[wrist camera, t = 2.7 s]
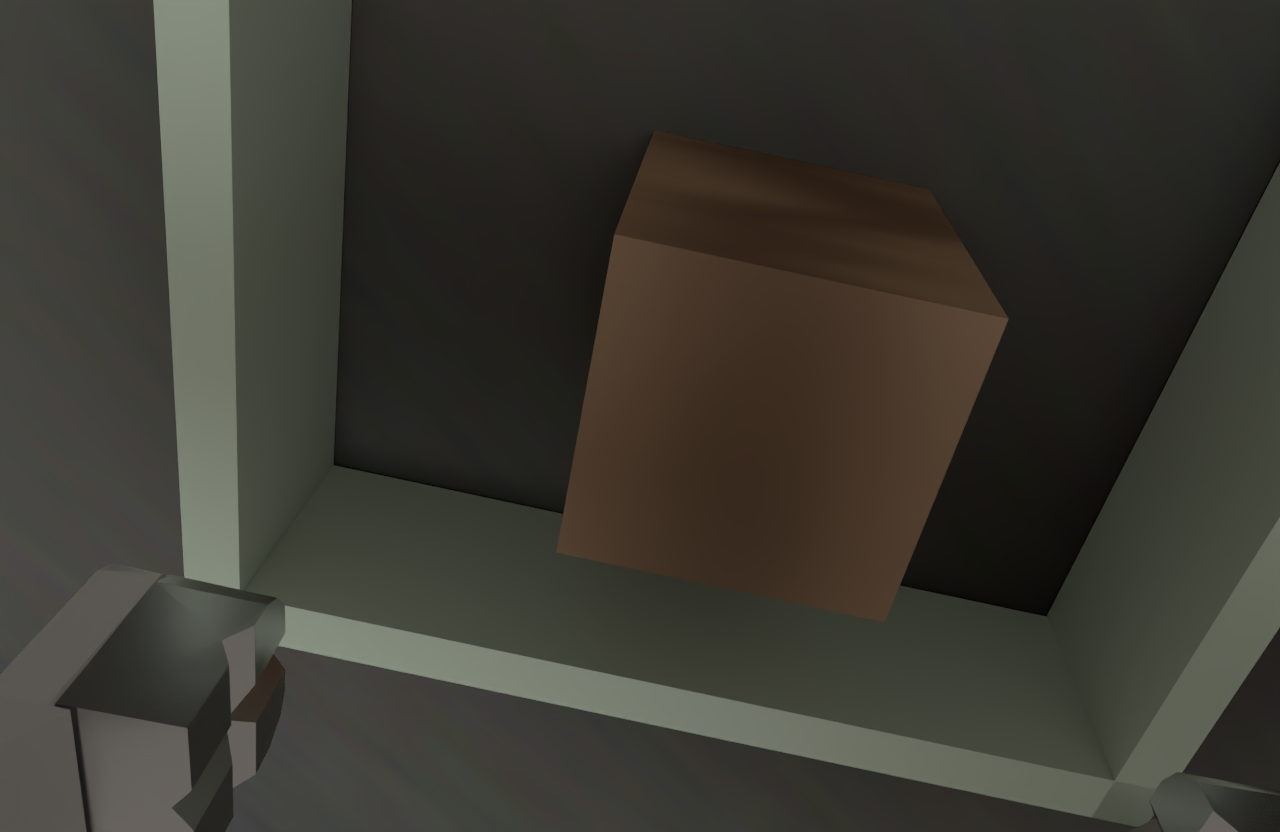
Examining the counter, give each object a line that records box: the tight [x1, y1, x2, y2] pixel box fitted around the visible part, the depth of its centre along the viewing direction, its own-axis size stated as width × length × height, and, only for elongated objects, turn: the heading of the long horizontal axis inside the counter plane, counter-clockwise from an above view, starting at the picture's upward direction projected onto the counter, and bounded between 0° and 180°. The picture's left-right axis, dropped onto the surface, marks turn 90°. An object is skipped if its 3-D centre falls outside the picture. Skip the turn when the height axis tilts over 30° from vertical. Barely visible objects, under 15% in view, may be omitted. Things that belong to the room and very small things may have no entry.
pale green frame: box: [153, 0, 1280, 827], centre depth 16 cm, size 18×16×4 cm
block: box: [556, 130, 1008, 622], centre depth 16 cm, size 5×5×6 cm
